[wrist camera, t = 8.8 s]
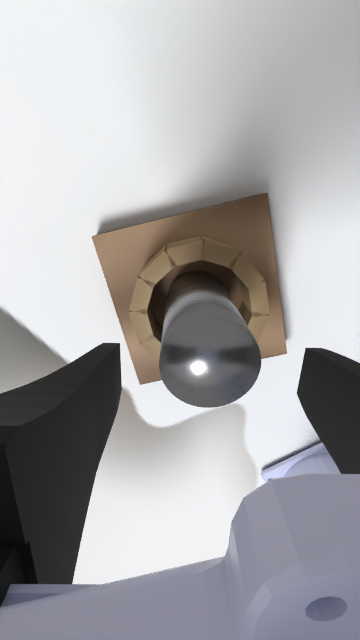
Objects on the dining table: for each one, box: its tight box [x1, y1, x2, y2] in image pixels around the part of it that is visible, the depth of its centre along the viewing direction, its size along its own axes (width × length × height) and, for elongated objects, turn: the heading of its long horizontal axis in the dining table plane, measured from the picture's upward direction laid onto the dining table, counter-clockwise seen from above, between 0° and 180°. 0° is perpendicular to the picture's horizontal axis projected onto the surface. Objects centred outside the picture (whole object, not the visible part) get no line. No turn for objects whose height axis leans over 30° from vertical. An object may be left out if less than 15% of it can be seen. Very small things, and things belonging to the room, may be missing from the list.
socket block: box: [92, 193, 287, 385], centre depth 20 cm, size 11×11×4 cm
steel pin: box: [159, 270, 261, 407], centre depth 16 cm, size 4×4×9 cm
